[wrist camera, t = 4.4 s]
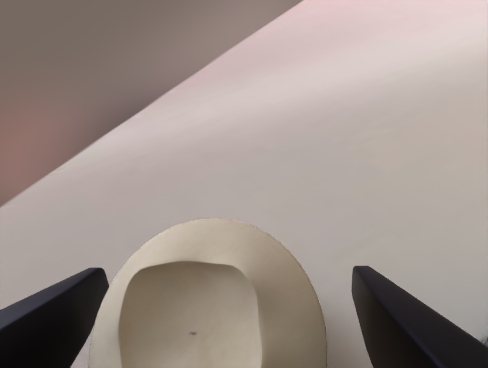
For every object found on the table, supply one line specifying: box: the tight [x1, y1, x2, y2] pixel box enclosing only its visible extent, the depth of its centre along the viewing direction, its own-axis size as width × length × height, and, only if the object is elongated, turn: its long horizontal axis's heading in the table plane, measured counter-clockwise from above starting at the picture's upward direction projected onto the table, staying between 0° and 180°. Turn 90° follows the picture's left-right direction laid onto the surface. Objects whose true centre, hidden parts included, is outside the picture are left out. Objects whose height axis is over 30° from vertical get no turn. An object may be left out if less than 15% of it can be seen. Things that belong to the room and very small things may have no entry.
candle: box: [88, 218, 327, 368], centre depth 9 cm, size 6×6×10 cm
